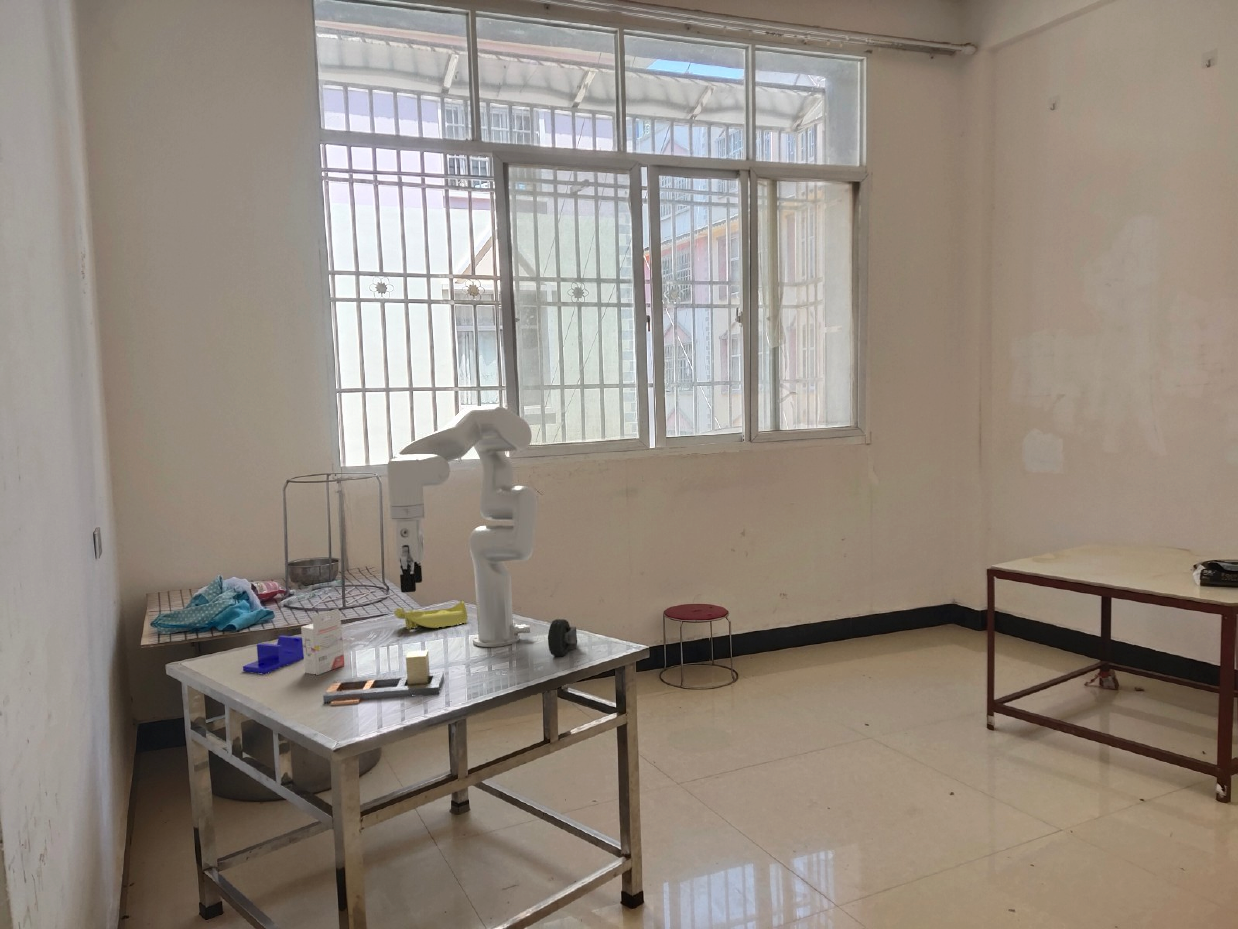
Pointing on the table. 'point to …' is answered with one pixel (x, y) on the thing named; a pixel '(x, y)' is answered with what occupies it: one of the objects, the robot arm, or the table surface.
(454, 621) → the plastic component
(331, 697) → the rail frame
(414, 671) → the brass block
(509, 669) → the table surface
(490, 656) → the table surface
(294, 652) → the mounting bracket
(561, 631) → the caster wheel
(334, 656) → the ink cartridge box
